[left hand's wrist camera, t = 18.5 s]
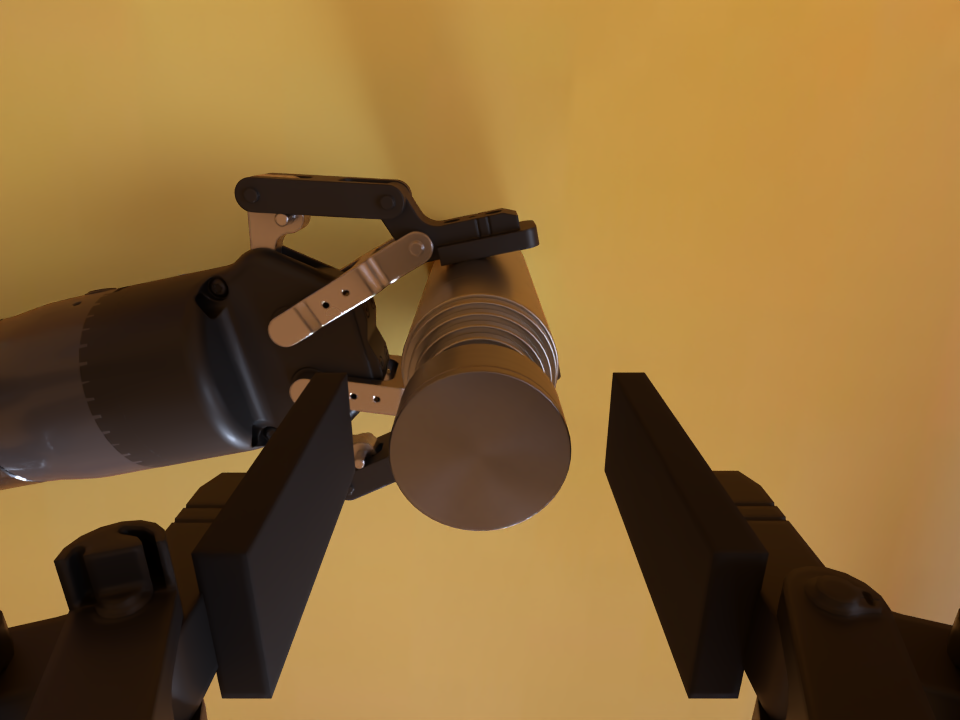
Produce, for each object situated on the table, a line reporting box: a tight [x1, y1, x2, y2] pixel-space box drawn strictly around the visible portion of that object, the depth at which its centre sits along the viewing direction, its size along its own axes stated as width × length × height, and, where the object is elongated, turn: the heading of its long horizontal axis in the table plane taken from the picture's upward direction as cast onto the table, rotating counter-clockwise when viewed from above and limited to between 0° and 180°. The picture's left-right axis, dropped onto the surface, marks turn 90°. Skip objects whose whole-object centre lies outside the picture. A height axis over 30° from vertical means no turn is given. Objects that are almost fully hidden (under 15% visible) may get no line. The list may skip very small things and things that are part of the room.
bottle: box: [401, 250, 559, 388], centre depth 22 cm, size 5×5×17 cm
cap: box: [389, 344, 571, 531], centre depth 14 cm, size 4×4×2 cm
